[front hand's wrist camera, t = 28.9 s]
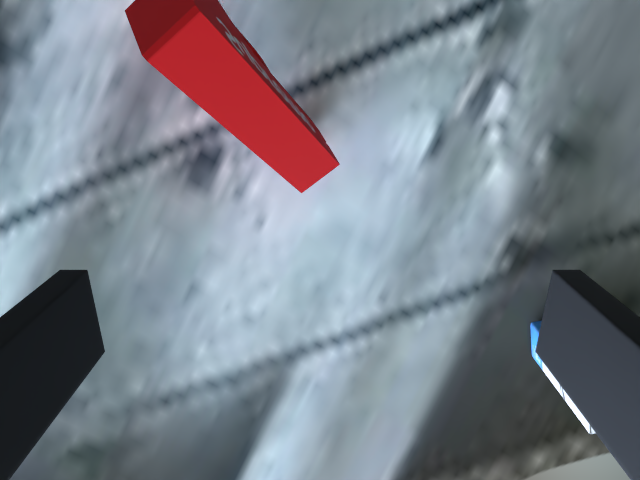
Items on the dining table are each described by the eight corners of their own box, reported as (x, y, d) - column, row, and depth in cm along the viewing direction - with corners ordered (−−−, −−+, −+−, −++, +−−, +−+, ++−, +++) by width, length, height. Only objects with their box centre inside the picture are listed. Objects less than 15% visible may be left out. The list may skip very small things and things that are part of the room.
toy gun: (107, -51, 33) (136, 51, 25) (147, -92, 32) (190, 0, 24) (254, 98, 48) (303, 194, 39) (284, 73, 47) (340, 166, 38)
